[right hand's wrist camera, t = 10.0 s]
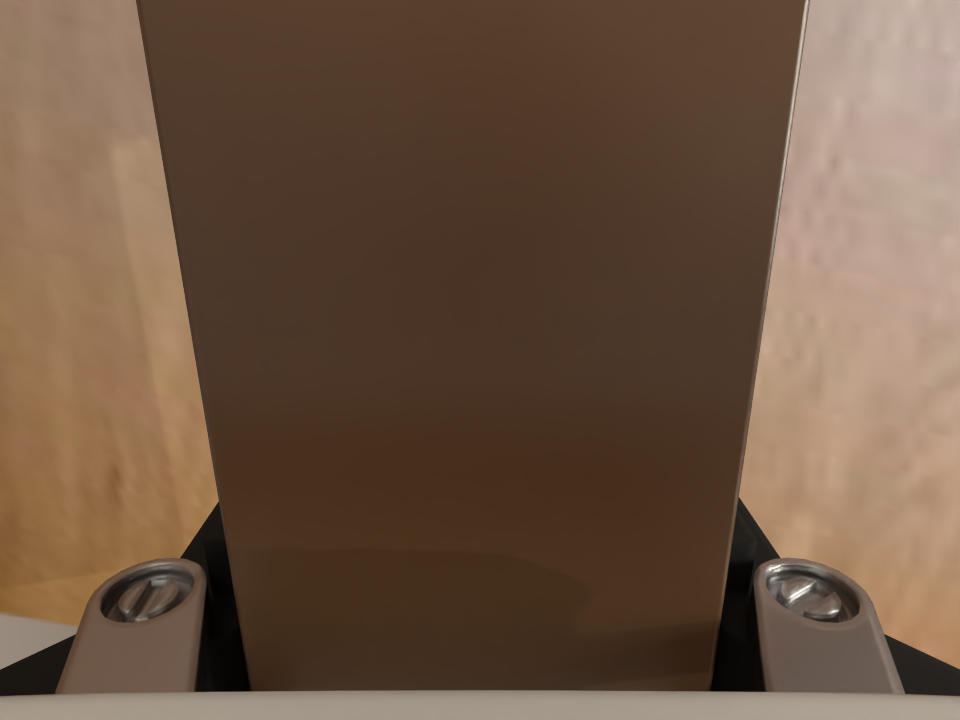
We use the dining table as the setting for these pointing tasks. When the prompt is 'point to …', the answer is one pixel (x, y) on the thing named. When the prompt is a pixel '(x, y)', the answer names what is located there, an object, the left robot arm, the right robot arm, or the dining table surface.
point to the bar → (476, 323)
